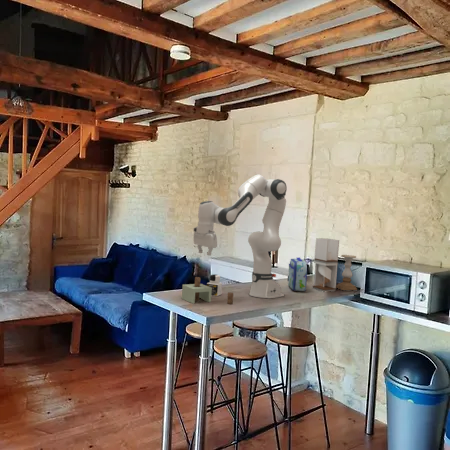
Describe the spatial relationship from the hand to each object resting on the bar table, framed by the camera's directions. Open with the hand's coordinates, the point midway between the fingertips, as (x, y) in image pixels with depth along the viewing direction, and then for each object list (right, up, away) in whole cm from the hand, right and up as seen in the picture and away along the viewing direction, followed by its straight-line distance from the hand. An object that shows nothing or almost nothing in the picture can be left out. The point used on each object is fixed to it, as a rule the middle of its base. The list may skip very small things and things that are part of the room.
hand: (204, 254), depth 252 cm
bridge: (-5, -26, -2) cm, 26 cm away
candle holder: (+96, -29, +60) cm, 117 cm away
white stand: (+79, -28, +54) cm, 100 cm away
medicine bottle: (+5, -26, +16) cm, 31 cm away
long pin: (-5, -26, -2) cm, 26 cm away
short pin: (+14, -27, -5) cm, 31 cm away
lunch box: (+60, -27, +50) cm, 83 cm away
